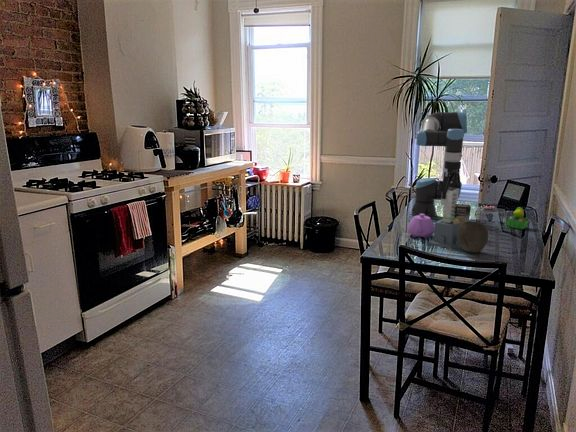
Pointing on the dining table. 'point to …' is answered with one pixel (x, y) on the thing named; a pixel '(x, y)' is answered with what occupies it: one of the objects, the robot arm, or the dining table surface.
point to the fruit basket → (517, 219)
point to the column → (450, 206)
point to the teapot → (421, 226)
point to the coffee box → (462, 213)
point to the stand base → (446, 234)
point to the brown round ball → (472, 236)
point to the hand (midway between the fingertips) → (449, 203)
